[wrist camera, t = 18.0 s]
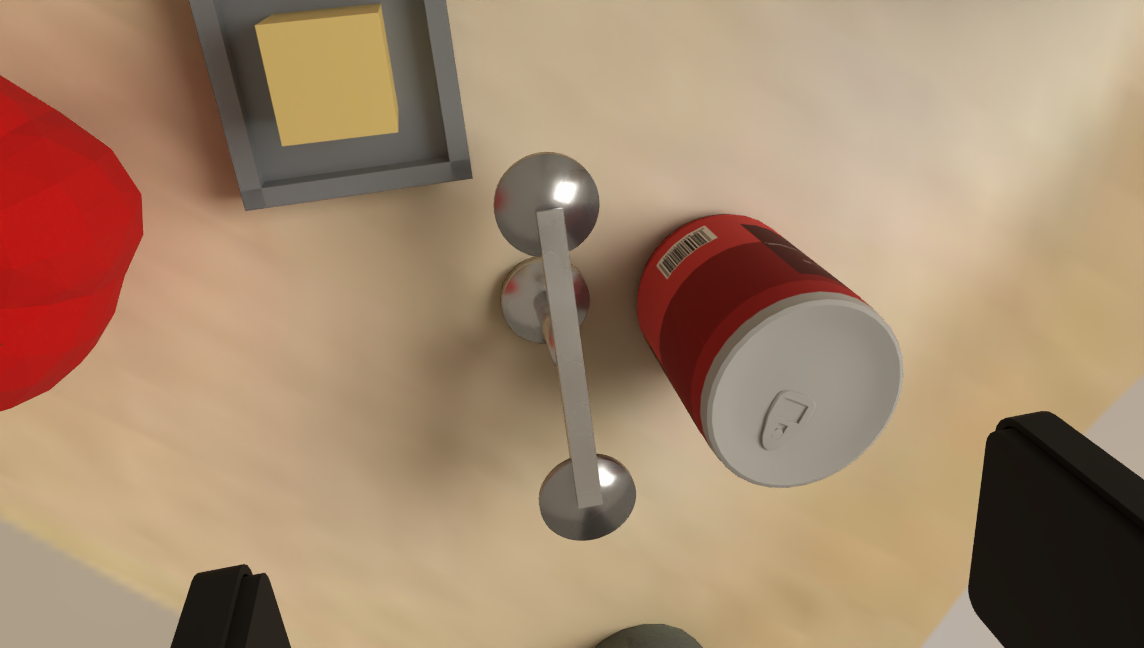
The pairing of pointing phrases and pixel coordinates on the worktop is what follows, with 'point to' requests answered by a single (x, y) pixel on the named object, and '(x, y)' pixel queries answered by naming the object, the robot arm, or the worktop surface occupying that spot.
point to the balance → (560, 331)
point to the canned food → (767, 351)
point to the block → (329, 73)
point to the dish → (346, 166)
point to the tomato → (57, 243)
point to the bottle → (650, 638)
